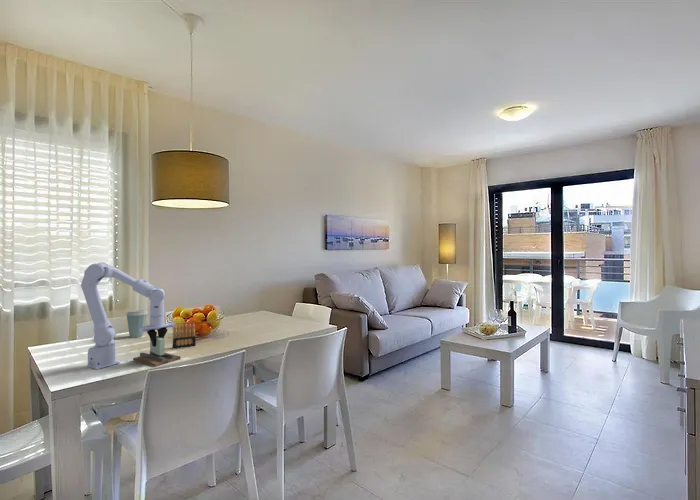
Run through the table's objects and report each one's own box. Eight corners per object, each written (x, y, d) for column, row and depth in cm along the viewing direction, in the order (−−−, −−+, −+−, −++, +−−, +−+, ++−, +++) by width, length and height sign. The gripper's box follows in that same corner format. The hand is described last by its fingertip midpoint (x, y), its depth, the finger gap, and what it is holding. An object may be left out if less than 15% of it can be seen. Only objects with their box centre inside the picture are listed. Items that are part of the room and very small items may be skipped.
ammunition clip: (172, 348, 182) (172, 324, 181) (172, 347, 183) (172, 324, 183) (195, 345, 187) (195, 322, 187) (195, 345, 189) (195, 322, 188)
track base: (155, 366, 155) (155, 360, 155) (133, 360, 162) (133, 354, 162) (180, 359, 165) (180, 353, 165) (158, 353, 173) (158, 348, 173)
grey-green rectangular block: (159, 355, 160) (159, 339, 160) (150, 351, 166) (150, 336, 166) (164, 354, 161) (164, 339, 161) (154, 350, 167) (154, 335, 167)
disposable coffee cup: (124, 336, 205) (124, 309, 204) (145, 333, 212) (146, 307, 211) (127, 340, 197) (127, 312, 196) (149, 336, 203) (150, 310, 203)
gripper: (169, 312, 171) (169, 340, 172) (136, 316, 160) (136, 347, 160) (176, 314, 167) (176, 343, 167) (142, 318, 156) (142, 350, 156)
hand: (157, 345), depth 164 cm, fingers closed on grey-green rectangular block, 2 cm apart
